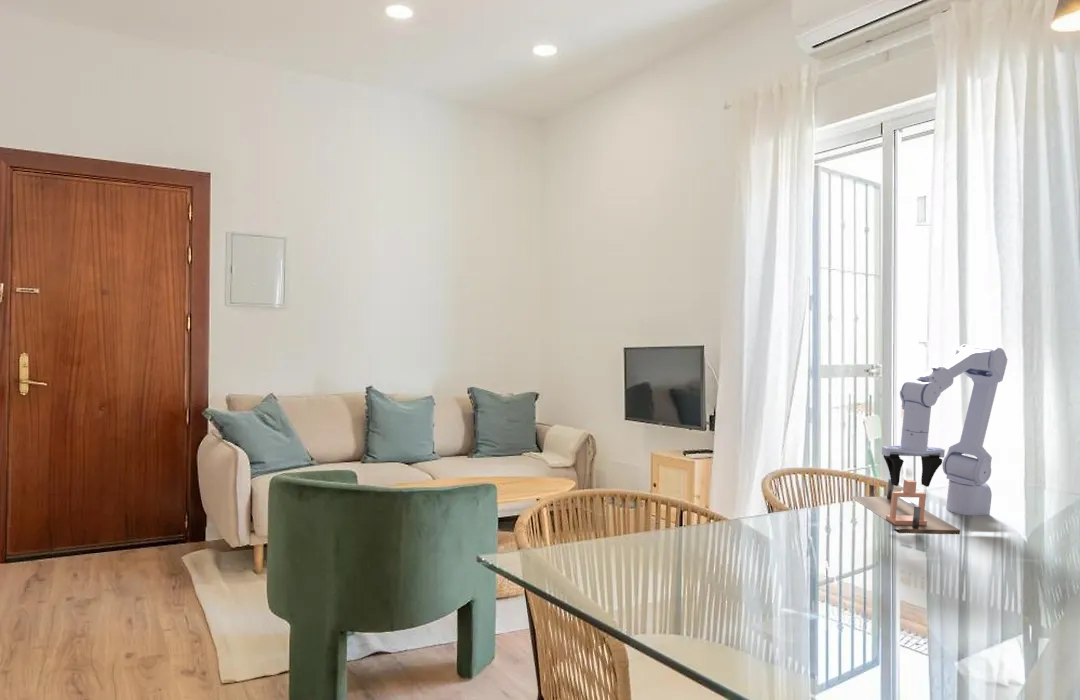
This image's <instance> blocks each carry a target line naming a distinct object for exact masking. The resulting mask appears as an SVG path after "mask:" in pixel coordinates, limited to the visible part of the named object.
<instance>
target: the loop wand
mask: <svg viewBox="0 0 1080 700" xmlns="http://www.w3.org/2000/svg"><path fill="white" fill-rule="evenodd" d="M902 485H903V492H901V491H893V492H892V497H891V507H890V515H886V519H887V520H888V521H890V522H891V523H893V524H894V525H912V524H913V516H907V515H896V510H897V500H898V497H903V498H919V499H918V506H919V507H921V510H920V520H919V525H927V521H926V520H924V510H926V509H925V507H926V500H927V499H926V497H927V493H926V492H922V491H921V492H919V491H917V481H915V480H913V479H908V478H907V479H905V478H904V479H903V484H902ZM888 521H887V522H888ZM891 523H890V524H891ZM894 525H893V526H894Z"/></svg>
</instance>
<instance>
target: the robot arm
mask: <svg viewBox="0 0 1080 700" xmlns="http://www.w3.org/2000/svg"><path fill="white" fill-rule="evenodd" d="M1007 363H1008V358H1007V355H1006V352H1005V350H1004V349H1003V348H1002V347H990V346H983V345H982V346H981V345H974V344H973V345H972V344H969V343H968V344H967V343H965V344H962V345H961V346H959V347H957V348H956V352H955V356H954V357H953V358H951V359H950V360H949V361H948V362H947V363H946V364H944V365H943V366H941V365H933V366H932V367H931V369H930V370H928V371H927V372H925V373H924V374H922V375H920V376H919V377H918V378H917V379H909V380H908V381H905V382H904V383H903V384H902V386H901V390H900V391H899V396H900V400H901V408H902V409H903V417H902V418H903V419H902V428H901V438H900V445H899V444H898V445H887V446H886V445H885V446H884V445H883V446H882V449H881V454H882V455H883V458H884V461H885V463H886V466H887V468H888V472H889V476H890V477H889V478H890V479H891V484H893V485H894V486H895V487H897V486H898V485H899V483H900V479H901V470H902V468H903V464H904V462H905V461H904V460H903V459H902V458H901V456H902V457H903V456H904V457H921V458H920V459H921V470H922V471H921V477H920V479H921V483H920V484H921V485H923V487H926V488H927V487H928V488H929V487H930V484H931V482H932V479H933V477H934V475H935V473H936V472H937V470H938V469H939V467H940V466H941V465H942V466H941V467H942V470H943V473H944V474H945V476H946V480H948V488H947V498H946V506H945V507H946V508H945V509H946V510H947V511H949V512H951V513H953V514H958V515H963V516H989V515H990V514H991V504H992V494H993V493H992V490H991V487H990V486H989V484H988V483H986V482H988V480H989V479H990V477H991V475H992V459H993V457H992V456H991V454H990V453H989V452H988V451H987V450H986V448H985V447H984V442H985V439H986V433H987V429H988V426H989V421H990V418H991V412H992V409H993V405H994V401H995V397H996V393H997V388H998V385H999V383H1001V382H1002V381H1003V380H1004V376H1005V372H1006V368H1007ZM962 374H965V375H966V377H967V378H970V379H971V381H972V382H973V386H972V391H971V395H970V399H969V403H968V406H967V412H966V415H965V420H964V423H963V428H962V432H961V435H960V436H961V437H960V440H959V442H957V443H955V444H953V445H951V446H950V445H949V447H948V450H947V453H946V455H945V452H946V450H945V449H943V448H941V447H931V446H928V442H929V432H930V422H931V411H932V406H935V404H936V403H937V402H938V398H939V397H940V396H941V394H942V393H943V392H944V391H946V390H947V389H948V388H949V387H952V385H953V384H954V378H956V377H958V376H960V375H962ZM967 455H969V456H967ZM972 456H973V457H972ZM942 458H943V459H942Z"/></svg>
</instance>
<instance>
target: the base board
mask: <svg viewBox="0 0 1080 700" xmlns="http://www.w3.org/2000/svg"><path fill="white" fill-rule="evenodd" d="M850 498H852V499H853V500H854V501H856V502H858V503H859V504H860V505H862V506H864V507H865V508H866V509H868V510H869V511H871V512H872V513H874V514H876V515H877V516H879V517H880V518H881V519H883V520H884V521H886V522H888V523H889V524H891V525H892V526H893V527H896V528H893V530H894V531H895V532H896V533H898V534H928V535H931V534H932V535H961V529H960V528H957V527H956V526H953V525H952V524H950V523H949V522H947V521H946V520H944V519H941V518H940V517H938V516H936V515H934V514H933V513H931V512H930V511H929V510H926V509H925V510H924V520H926V521H927V525H919V529H914V528H912V525H894V524H893V523H891V522H890V521H888V520H887V519H886V515H890V507H891V499H887V496H886V497H885V496H880V497H879V496H850ZM905 499H906V500H908V501H910V500H909V499H907V498H905ZM912 503H913V504H915V503H914V502H912ZM915 505H917V504H915ZM913 514H914V509H913V508H911V507H910V506H908V505H906V504H904V503H903V502H901V501H899V500H897V510H896V515H907V516H913Z"/></svg>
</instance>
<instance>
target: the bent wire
mask: <svg viewBox="0 0 1080 700" xmlns="http://www.w3.org/2000/svg"><path fill="white" fill-rule="evenodd" d="M887 482H888V483H887V493H886V497H887V499H891V497H892V492H894V489H895V488H894V486H895V485H893V484H891V478H888V481H887ZM903 485H904V484H901V483H900V482H899V485H898V486H896V487H897V488H899V489H901V491H900V492H903ZM906 499H907V498H906V497H898V500H899V501H901V502H903V503H904V504H906V505H908V506H910V507H911V508H913V509H914V514H913V524H912V528H914V529H919V520H920V510H921V507H919V505H917V504H916V505H915V503H914V502H912V501H910V500H909V499H907V500H906ZM908 500H909V501H908ZM913 503H914V504H913Z"/></svg>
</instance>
